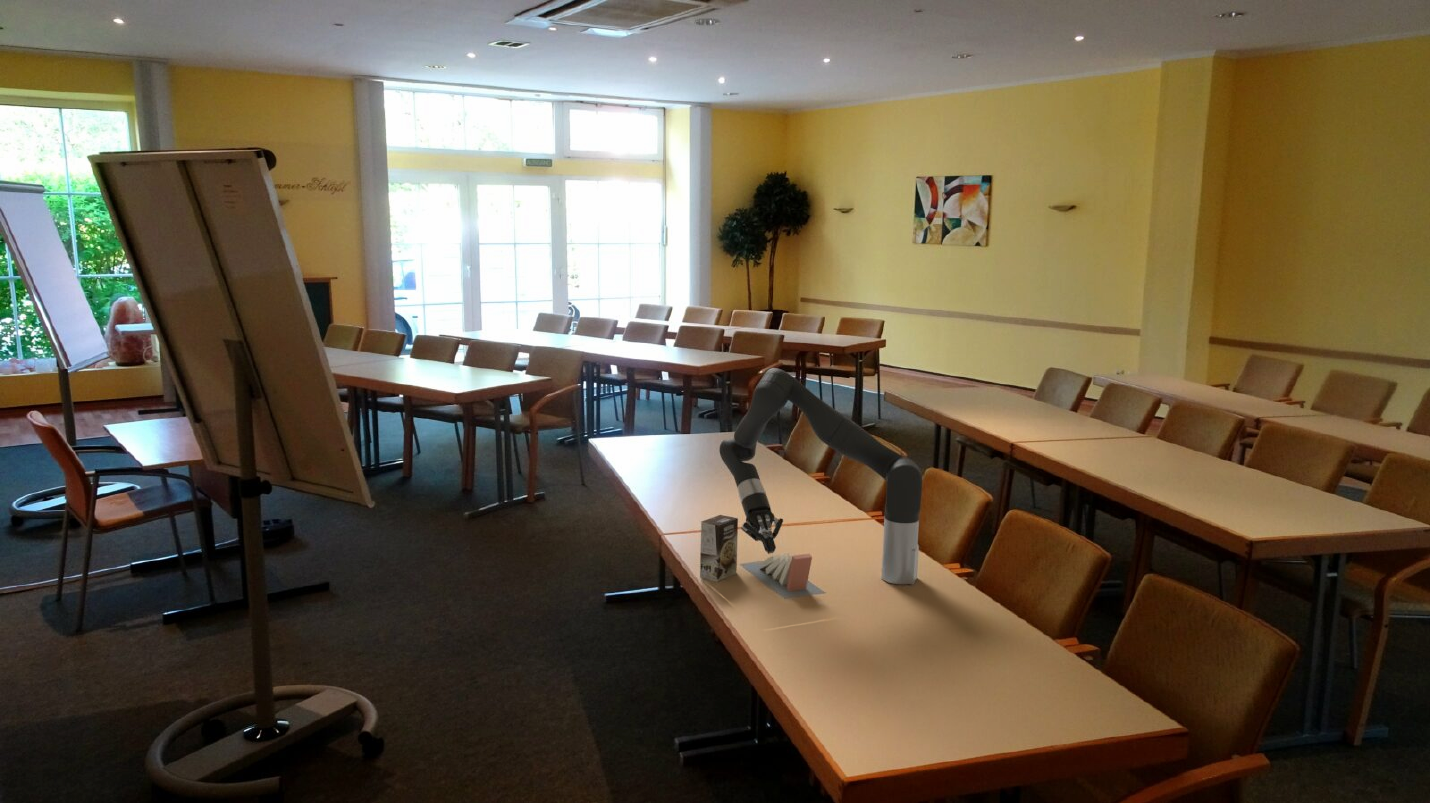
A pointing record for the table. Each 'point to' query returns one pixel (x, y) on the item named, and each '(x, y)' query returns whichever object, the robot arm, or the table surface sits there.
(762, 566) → the domino
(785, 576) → the domino
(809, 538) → the table surface
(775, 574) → the domino
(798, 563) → the domino
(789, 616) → the table surface
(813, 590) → the mat
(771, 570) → the domino
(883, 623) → the table surface
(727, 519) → the coffee box
